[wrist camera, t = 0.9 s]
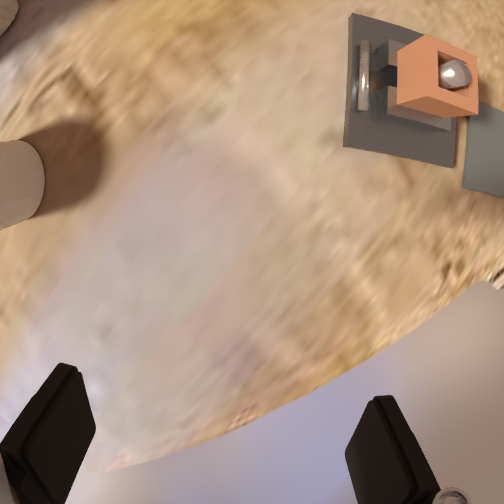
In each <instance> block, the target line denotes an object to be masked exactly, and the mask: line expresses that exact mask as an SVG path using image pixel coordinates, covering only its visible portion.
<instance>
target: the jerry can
mask: <svg viewBox="0 0 504 504" xmlns="http://www.w3.org/2000/svg"><path fill="white" fill-rule="evenodd" d="M18 9H19V5H18V2H17V0H0V35H1V34H2V33H3V32H4V31H5V30H6V29H7V28H8V27H9V26H10V24H11V22H12V21H13V20H14V19H15V15H16V13H17V12H18Z"/></svg>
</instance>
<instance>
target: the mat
mask: <svg viewBox="0 0 504 504" xmlns="http://www.w3.org/2000/svg"><path fill="white" fill-rule="evenodd" d="M462 188H467V189H471V190H475V191H479V192H483V193H487V194H490V195H494V196H498V197H501V198H504V112H502V111H500V110H497V109H495V108H493V107H491V106H489V105H487V104H484V103H482V102H480V101H478V115H468V116H467V138H466V153H465V164H464V174H463V183H462Z"/></svg>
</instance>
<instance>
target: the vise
mask: <svg viewBox="0 0 504 504" xmlns="http://www.w3.org/2000/svg"><path fill="white" fill-rule="evenodd" d="M422 36H424V34H421V33H418V32H415V31H412V30H410V29H407V28H404V27H401V26H397V25H394V24H391V23H388V22H384V21H381V20H377V19H374V18H370V17H366V16H362V15H358V14H354V13H352V14H351V16H350V17H349V39H348V74H347V95H346V111H345V126H344V138H343V147H347V148H353V149H359V150H365V151H371V152H377V153H382V154H387V155H392V156H397V157H402V158H407V159H412V160H416V161H421V162H425V163H430V164H434V165H438V166H442V167H446V168H453V165H454V154H455V141H456V121H457V117H449V118H442V117H439V116H436V115H433V114H429V113H426V112H423V111H419V110H416V109H412V108H408V107H405V106H401V105H397V51H399V50H400V49H402V48H404V47H405V46H407V45H409V44H410V43H412V42H414V41H415V40H417V39H419V38H420V37H422ZM469 82H470V72H469V70H468V68H467V66H466V65H465V64H464V63H463V62H462V61H460V60H457V59H455V60H452V61H449V62H447V63H444V64H441V65H439V66H438V87H440V88H443V89H446V90H448V89H452V88H456V87H461V86H465V85H467V84H468V83H469Z"/></svg>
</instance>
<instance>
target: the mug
mask: <svg viewBox="0 0 504 504" xmlns="http://www.w3.org/2000/svg"><path fill="white" fill-rule="evenodd" d="M44 184H45V177H44V169H43V165H42V161H41V159H40V156H39V155H38V153H37V151H36V150H35V149H34V148H33V147H32V146H31V145H30V144H28V143H26V142H24V141H17V140H12V141H8V142H0V230H2V229H4V228H7V227H9V226H12V225H15V224H17V223H20V222H22V221H24V220H26V219H28V218H30V217H31V216H32V215H33V214H34V213H35V212H36V210H37V208H38V207H39V205H40V202H41V200H42V196H43V192H44Z"/></svg>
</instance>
